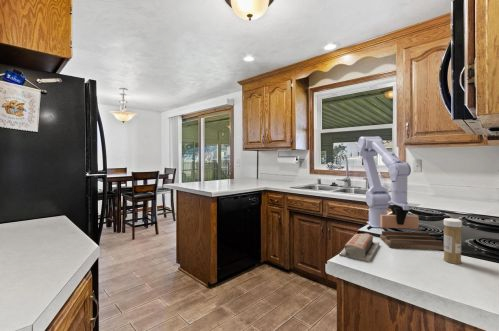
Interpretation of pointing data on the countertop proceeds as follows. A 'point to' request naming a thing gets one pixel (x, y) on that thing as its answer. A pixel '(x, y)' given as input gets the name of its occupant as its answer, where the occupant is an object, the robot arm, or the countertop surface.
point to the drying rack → (411, 240)
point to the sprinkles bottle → (452, 240)
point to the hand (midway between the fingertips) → (399, 223)
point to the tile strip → (391, 222)
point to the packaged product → (360, 247)
